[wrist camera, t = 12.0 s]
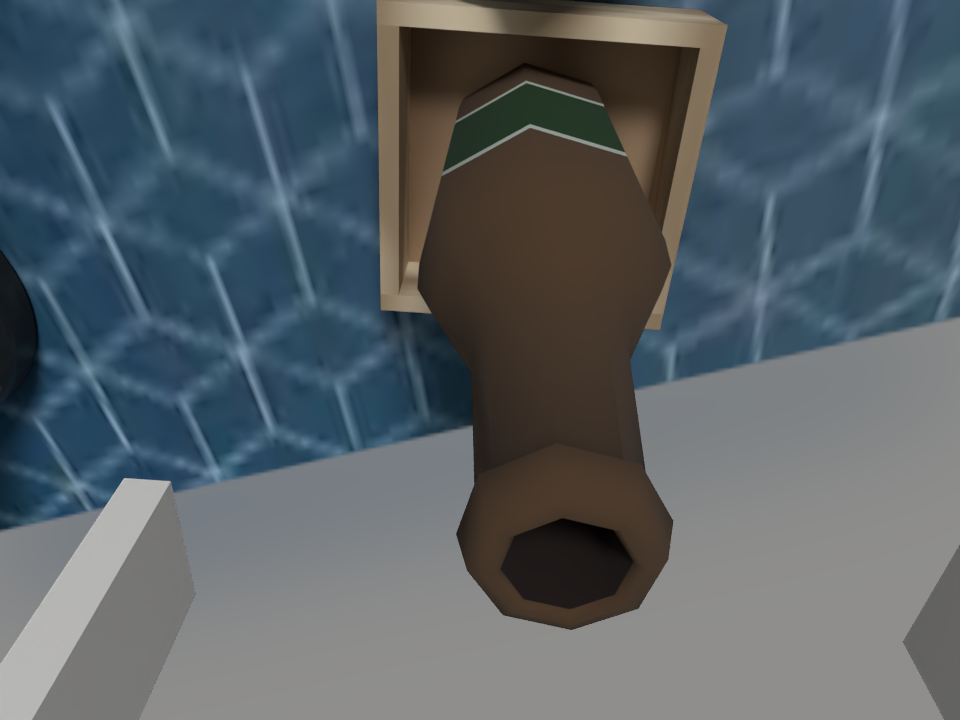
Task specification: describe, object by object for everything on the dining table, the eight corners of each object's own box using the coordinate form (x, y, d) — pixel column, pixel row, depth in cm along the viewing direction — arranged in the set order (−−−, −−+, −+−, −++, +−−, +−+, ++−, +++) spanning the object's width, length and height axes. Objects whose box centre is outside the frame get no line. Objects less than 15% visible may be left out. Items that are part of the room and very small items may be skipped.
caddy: (394, 268, 36) (380, 309, 33) (393, -12, 30) (376, 0, 26) (644, 286, 36) (659, 329, 33) (700, 10, 30) (727, 25, 26)
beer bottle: (621, 224, 34) (785, 704, 14) (457, 240, 35) (381, 719, 14) (618, 46, 30) (847, 354, 10) (432, 69, 31) (276, 399, 10)
